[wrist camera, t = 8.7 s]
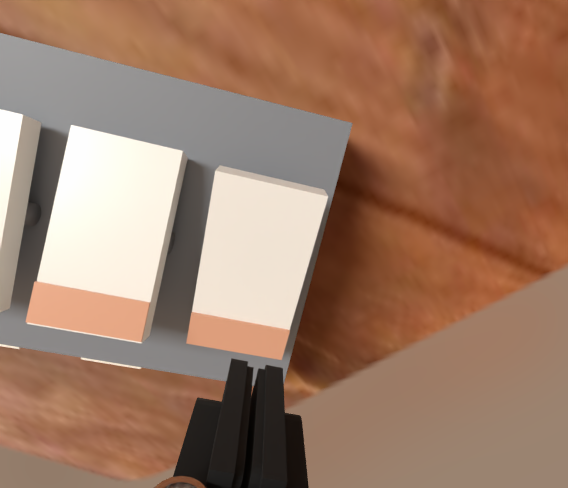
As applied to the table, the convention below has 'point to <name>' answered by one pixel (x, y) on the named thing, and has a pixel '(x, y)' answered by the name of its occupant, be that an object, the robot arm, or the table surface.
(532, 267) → the table surface
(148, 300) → the rocker
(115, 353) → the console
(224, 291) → the block
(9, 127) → the block
